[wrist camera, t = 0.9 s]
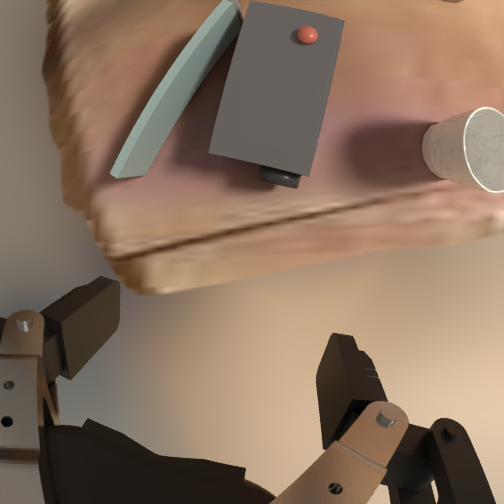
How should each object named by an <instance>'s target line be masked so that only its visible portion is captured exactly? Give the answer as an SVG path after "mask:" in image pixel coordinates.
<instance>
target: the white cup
mask: <svg viewBox="0 0 504 504" xmlns="http://www.w3.org/2000/svg"><path fill="white" fill-rule="evenodd" d="M422 152H423V159H424V161H425V163H426V164H427V166H428V168H429V170H430V171H431V172H433V173H434V174H435V175H436V176H438V177H439V178H443V179H447V180H450V181H452V182H455V183H458V184H461V185H465V186H469V187H472V188H476V189H480V190H483V191H487V192H490V193H496V194H497V193H502V192H504V115H503V114H502V113H501V112H499V111H498V110H496V109H494V108H491V107H480V108H477V109H474V110H471V111H468V112H464V113H461V114H459V115H455V116H452V117H450V118H447V119H445V120H443V121H442V122H440V123H437V124H434V125H431V126H430V127H429V129H428V130H427V131H426V132H425V134H424V137H423V141H422Z"/></svg>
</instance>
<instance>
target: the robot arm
mask: <svg viewBox="0 0 504 504" xmlns="http://www.w3.org/2000/svg"><path fill="white" fill-rule="evenodd" d="M444 1H448V2H451V3H459V2H461V1H463V0H444ZM119 320H120V284H119V282H118V281H116V280H112V279H109V278H106V277H103V276H100V277H98V278H97V279H95V280H94V281H92V282H91V283H89V284H88V285H83V286H80V287H77V288H74V289H73V290H71V291H70V292H69V293H67V295H64V296H63V297H61V298H60V299H58V300H57V301H55V302H54V303H52V304H51V305H49V306H48V307H46V308H45V309H44V310H42V311H41V312H39V313H38V312H36V311H32V310H21V311H17V312H15V313H13V314H11V315H10V316H9V317H8V318H7V319H5V318H1V317H0V504H367V502H368V501H369V499H370V498H371V496H372V495H373V493H374V491H375V490H376V488H377V487H378V485H379V484H382V485H387V486H388V489H389V496H390V502H391V504H436V502H435V498H434V494H433V490H432V486H431V482H432V481H433V480H435V484H436V487H437V491H438V502H437V504H496V502H495V500H494V497H493V494H492V491H491V489H490V486H489V483H488V481H487V478H486V476H485V473H484V471H483V468H482V466H481V464H480V461H479V459H478V456H477V454H476V452H475V449H474V447H473V445H472V443H471V440H470V438H469V436H468V434H467V432H466V430H465V429H464V427H462V425H460V424H459V423H458V422H456V421H454V420H452V419H448V418H440V419H437V420H436V421H435V422H434V423H433V425H432V426H431V427H430V429H428V428H424V427H420V426H416V425H413V424H409V421H408V417H407V415H406V413H405V412H404V411H403V410H402V409H401V408H400V407H398V406H396V405H395V404H393V403H390V402H388V400H387V397H386V395H385V392H384V390H383V387H382V384H381V382H380V379H378V374H377V372H376V371H375V366H374V364H373V362H372V359H370V357H369V356H368V355H367V354H366V353H365V352H364V351H360V350H358V347H357V345H356V342H355V340H354V338H353V336H350V335H344V334H338V333H332V335H331V336H330V339H329V341H328V344H327V346H326V349H325V352H324V354H323V357H322V359H321V362H320V364H319V367H318V371H317V375H316V387H317V395H318V404H319V413H320V423H321V432H322V443H323V449H324V450H326V451H325V452H324V453H323V454H322V455H321V456H320V457H319V458H318V459H317V460H316V461H315V462H314V463H313V464H312V465H311V466H310V467H309V468H308V469H307V470H306V471H305V472H304V473H303V474H302V475H301V476H300V477H299V478H298V479H297V480H296V481H294V483H292V484H291V485H290V486H289V487H288V488H287V489H286V490H285V491H283V492H282V493H281V494H280V495H279V496H278V497H275V496H274V495H273V494H271V493H270V492H269V491H267V490H266V489H264V488H262V487H261V486H259V485H257V484H255V483H253V482H251V481H248V480H246V479H244V478H245V471H246V468H243V467H238V466H232V465H227V464H223V463H218V462H214V461H209V460H205V459H191V458H179V457H168V456H161V455H157V454H155V453H153V452H151V451H150V450H148V449H146V448H145V447H143V446H142V445H140V444H138V443H137V442H135V441H134V440H132V439H130V438H129V437H127V436H126V435H124V434H123V433H121V432H118V431H116V430H113V429H111V428H109V427H106V426H104V425H102V424H99V423H97V422H95V421H93V420H91V419H89V418H88V419H87V420H86V421H85V423H84V424H83V426H82V427H79V426H71V425H61V422H60V414H59V404H58V394H57V383H56V377H57V376H58V375H61V376H63V377H65V378H67V379H69V380H72V378H73V377H74V376H75V375H76V374H77V373H78V372H79V371H80V370H81V369H82V367H83V366H84V365H85V364H86V363H87V362H88V361H89V360H90V359H91V357H92V356H93V355H94V354H95V353H96V352H97V351H98V350H99V349H100V348H101V347H102V346H103V344H104V343H105V342H106V341H107V340H108V339H109V338H110V337H111V336H112V335H113V334H114V333H115V331H116V330H117V328H118V325H119Z"/></svg>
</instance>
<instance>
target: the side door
mask: <svg viewBox="0 0 504 504" xmlns="http://www.w3.org/2000/svg"><path fill="white" fill-rule="evenodd" d="M243 21H244V18H243V15H242V12H241V8H240V5H239V2H238V0H223V1H222V2H221V3H220V4H219V5H218V6H217V8H216V9H215V10H214V11H213V12H212V13H211V15H210V16H209V17H208V18H207V20H206V21H205V22H204V23H203V24H202V26H201V27H200V28H199V29H198V31H197V32H196V33H195V35H194V36H193V37H192V39H191V40H190V41H189V43H188V44H187V45H186V47H185V48H184V49H183V51H182V52H181V53H180V55H179V56H178V58H177V59H176V60H175V62H174V63H173V65H172V66H171V68H170V69H169V71H168V72H167V74H166V75H165V77H164V78H163V80H162V81H161V83H160V84H159V86H158V87H157V89H156V90H155V92H154V94H153V95H152V97H151V98H150V100H149V102H148V103H147V105H146V107H145V108H144V110H143V112H142V113H141V115H140V117H139V119H138V120H137V122H136V124H135V126H134V127H133V129H132V131H131V133H130V135H129V137H128V138H127V140H126V142H125V144H124V146H123V148H122V150H121V152H120V154H119V156H117V157H116V159H115V161H114V163H113V165H114V166H113V168H112V170H111V172H110V174H111V175H113V176H114V177H115V178H117V179H118V178H126V177H134V176H143V175H146V174H147V172H148V170H149V168H150V166H151V164H152V163H153V161H154V159H155V157H156V155H157V154H158V152H159V150H160V148H161V147H162V145H163V143H164V142H165V140H166V138H167V136H168V135H169V133H170V131H171V130H172V128H173V126H174V125H175V123H176V122H177V120H178V118H179V117H180V115H181V114H182V112H183V110H184V109H185V107H186V106H187V104H188V103H189V101H190V100H191V98H192V97H193V95H194V94H195V92H196V91H197V89H198V88H199V86H200V85H201V83H202V82H203V80H204V79H205V78H206V76H207V75H208V73H209V72H210V71H211V69H212V68H213V66H214V65H215V64H216V62H217V61H218V60H219V58H220V57H221V55H222V54H223V53H224V51H225V50H226V49H227V48H228V46H229V45H230V44H231V42H232V41H233V40H234V39H235V37H236V36H237V35H238V34H239V32H240V31H241V28H242V24H243Z"/></svg>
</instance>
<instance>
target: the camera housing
mask: <svg viewBox="0 0 504 504" xmlns="http://www.w3.org/2000/svg"><path fill="white" fill-rule="evenodd" d="M343 26H344V21H343V20H340V19H337V18H333V17H329V16H325V15H322V14H318V13H313V12H309V11H305V10H300V9H295V8H290V7H285V6H279V5H273V4H267V3H260V2H252V1H250V3H249V6H248V9H247V12H246V15H245V18H244V21H243V24H242V28H241V31H240V34H239V37H238V41H237V44H236V48H235V51H234V54H233V58H232V61H231V65H230V69H229V72H228V76H227V79H226V83H225V87H224V91H223V94H222V98H221V102H220V106H219V110H218V114H217V118H216V122H215V126H214V130H213V134H212V139H211V143H210V147H209V152H208V153H210V154H215V155H220V156H225V157H229V158H234V159H239V160H243V161H247V162H252V163H256V164H260V168H259V173H258V177H257V179H260V180H263V181H266V182H270V183H274V184H278V185H282V186H286V187H290V188H296V189H298V185H299V181H300V177H301V175H304V176H308V177H309V175H310V171H311V167H312V163H313V159H314V155H315V151H316V147H317V143H318V138H319V134H320V130H321V126H322V122H323V117H324V113H325V109H326V105H327V100H328V96H329V91H330V87H331V83H332V78H333V74H334V69H335V64H336V60H337V55H338V50H339V45H340V41H341V36H342V31H343Z"/></svg>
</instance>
